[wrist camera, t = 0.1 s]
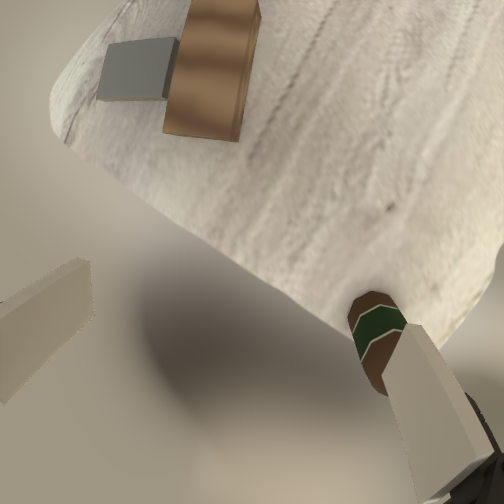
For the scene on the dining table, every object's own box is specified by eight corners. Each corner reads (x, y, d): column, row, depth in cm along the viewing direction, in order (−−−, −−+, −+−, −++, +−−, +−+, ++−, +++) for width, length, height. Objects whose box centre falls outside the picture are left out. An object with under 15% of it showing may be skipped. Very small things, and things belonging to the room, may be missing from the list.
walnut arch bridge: (205, 15, 29) (193, -4, 24) (261, 17, 29) (257, -3, 23) (179, 136, 35) (162, 132, 30) (238, 142, 35) (229, 139, 29)
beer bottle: (345, 293, 39) (391, 426, 17) (395, 285, 38) (473, 401, 16) (346, 337, 42) (378, 470, 19) (393, 329, 40) (448, 449, 18)
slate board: (118, 49, 32) (108, 44, 29) (182, 44, 32) (175, 37, 29) (106, 101, 35) (95, 99, 32) (170, 100, 34) (161, 97, 32)
